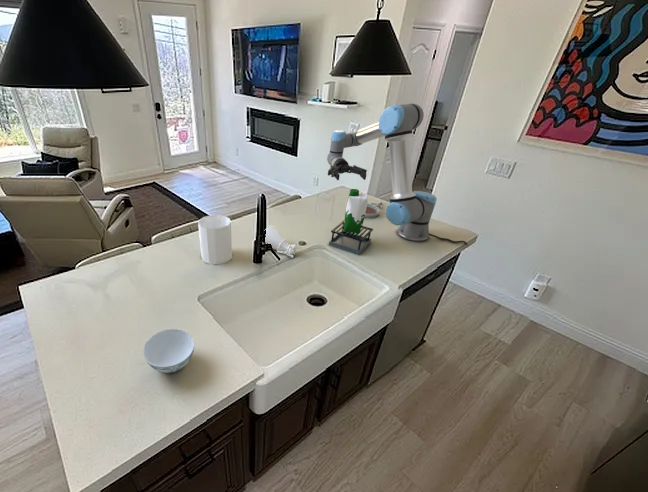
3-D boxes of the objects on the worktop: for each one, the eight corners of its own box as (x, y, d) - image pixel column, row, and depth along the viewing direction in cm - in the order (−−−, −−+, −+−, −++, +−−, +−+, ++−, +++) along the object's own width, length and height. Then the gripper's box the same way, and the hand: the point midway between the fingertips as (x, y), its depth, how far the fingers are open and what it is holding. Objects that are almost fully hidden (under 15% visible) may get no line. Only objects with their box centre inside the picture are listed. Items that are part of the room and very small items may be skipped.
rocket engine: (301, 240, 149) (271, 221, 156) (286, 260, 148) (257, 240, 156) (305, 248, 160) (277, 230, 167) (291, 267, 159) (263, 248, 166)
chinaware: (141, 384, 96) (136, 366, 92) (154, 345, 108) (150, 328, 104) (192, 384, 96) (189, 366, 92) (199, 345, 109) (197, 328, 104)
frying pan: (394, 204, 203) (370, 216, 187) (393, 209, 205) (369, 221, 188) (370, 196, 213) (345, 207, 197) (369, 201, 215) (344, 211, 199)
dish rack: (370, 242, 167) (373, 228, 163) (359, 255, 157) (362, 240, 153) (341, 233, 175) (343, 220, 171) (328, 245, 165) (330, 230, 161)
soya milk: (343, 224, 167) (350, 186, 155) (362, 227, 164) (370, 188, 153) (341, 232, 160) (348, 192, 148) (360, 235, 157) (369, 195, 146)
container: (233, 262, 151) (232, 227, 141) (202, 265, 148) (199, 230, 138) (229, 247, 163) (228, 213, 153) (200, 249, 160) (197, 216, 150)
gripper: (360, 171, 183) (374, 184, 165) (316, 172, 182) (326, 185, 164) (363, 157, 179) (377, 169, 161) (318, 158, 178) (328, 170, 160)
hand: (351, 177), depth 163 cm, fingers open, 13 cm apart
